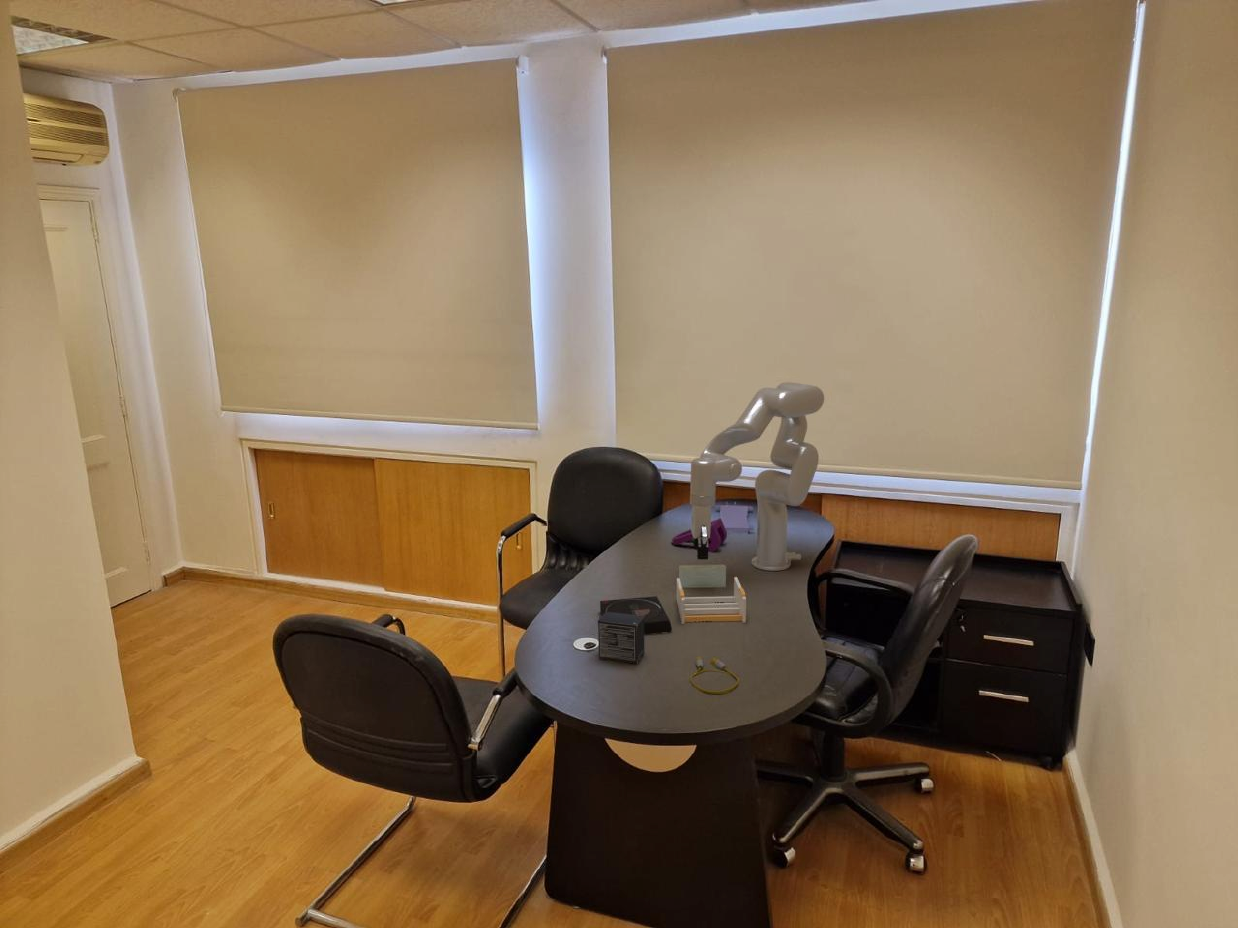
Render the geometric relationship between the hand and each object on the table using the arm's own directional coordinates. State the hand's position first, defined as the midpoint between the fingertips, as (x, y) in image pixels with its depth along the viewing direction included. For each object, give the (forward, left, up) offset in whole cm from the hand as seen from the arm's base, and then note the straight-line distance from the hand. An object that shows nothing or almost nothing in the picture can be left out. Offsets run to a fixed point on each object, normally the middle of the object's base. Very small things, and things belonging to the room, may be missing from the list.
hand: (700, 553), depth 244 cm
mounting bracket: (-3, -38, -11) cm, 39 cm away
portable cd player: (+21, +25, -11) cm, 34 cm away
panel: (-1, 0, -11) cm, 11 cm away
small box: (+25, +45, -11) cm, 52 cm away
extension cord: (+3, +57, -11) cm, 58 cm away
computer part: (-20, -65, -11) cm, 68 cm away
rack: (-1, +19, -11) cm, 21 cm away
